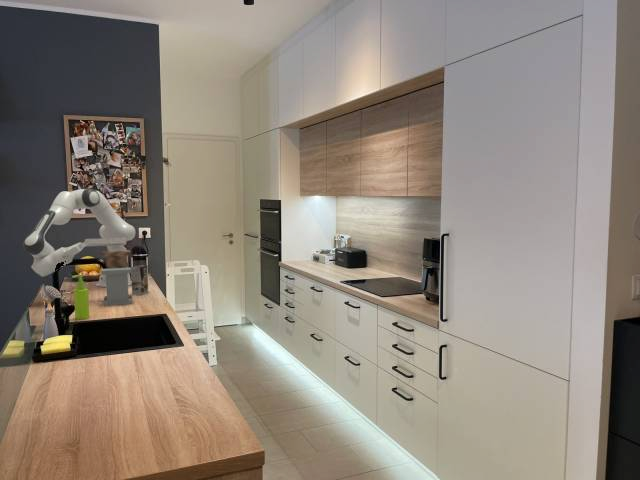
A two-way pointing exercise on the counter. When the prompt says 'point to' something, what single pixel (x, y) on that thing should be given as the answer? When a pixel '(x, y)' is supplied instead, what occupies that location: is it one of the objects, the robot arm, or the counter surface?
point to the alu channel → (106, 241)
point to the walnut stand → (117, 261)
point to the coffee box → (139, 279)
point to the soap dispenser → (81, 299)
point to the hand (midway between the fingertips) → (89, 241)
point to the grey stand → (116, 286)
